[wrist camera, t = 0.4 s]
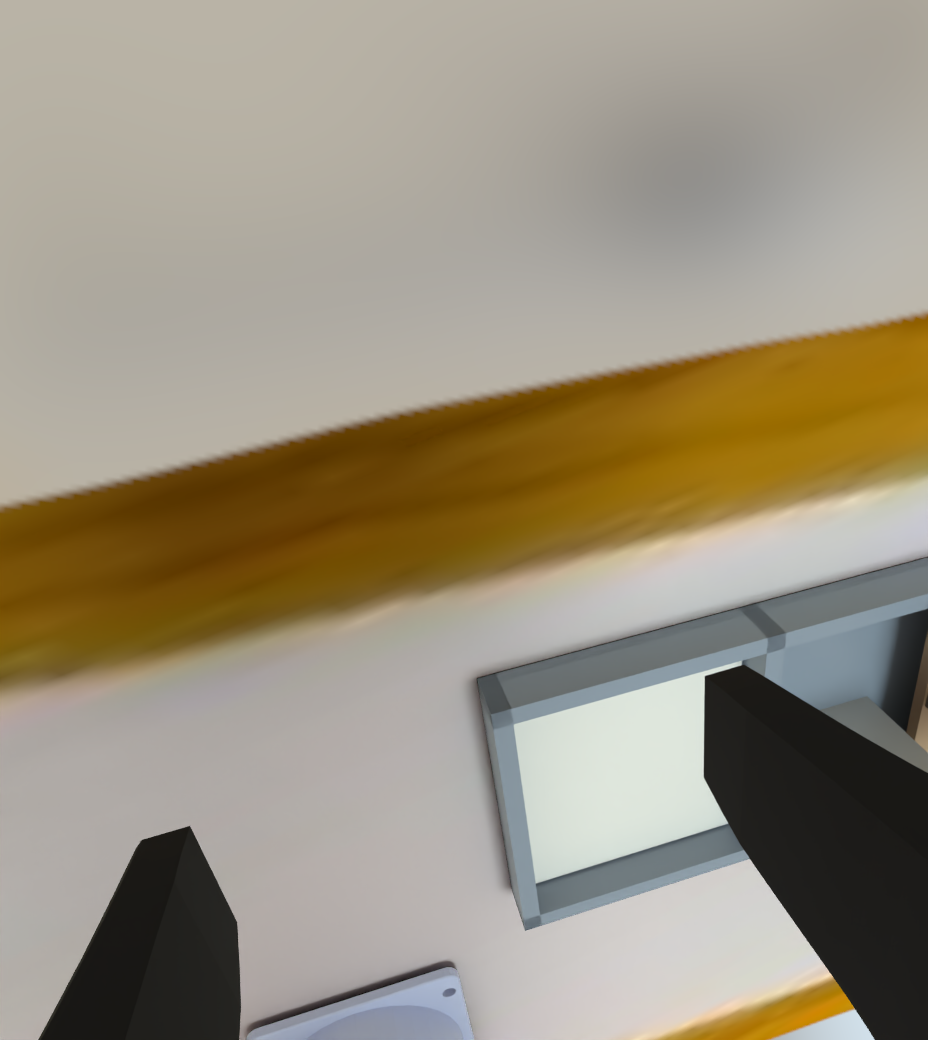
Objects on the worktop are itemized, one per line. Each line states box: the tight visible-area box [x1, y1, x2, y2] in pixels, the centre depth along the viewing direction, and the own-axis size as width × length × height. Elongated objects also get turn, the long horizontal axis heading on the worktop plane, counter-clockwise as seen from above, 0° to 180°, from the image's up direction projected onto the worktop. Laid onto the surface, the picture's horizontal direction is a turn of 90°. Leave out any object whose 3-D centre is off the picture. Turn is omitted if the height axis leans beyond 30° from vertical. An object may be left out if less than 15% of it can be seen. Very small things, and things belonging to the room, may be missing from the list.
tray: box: [477, 558, 928, 931], centre depth 25 cm, size 10×19×2 cm, turn 98°
